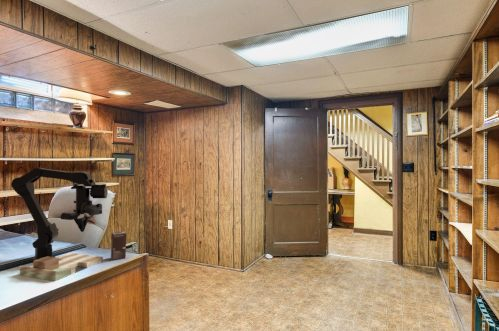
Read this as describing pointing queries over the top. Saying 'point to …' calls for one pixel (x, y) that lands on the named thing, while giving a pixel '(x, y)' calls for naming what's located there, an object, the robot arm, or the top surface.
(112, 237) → the box
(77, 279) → the top surface
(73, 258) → the trap board
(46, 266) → the block
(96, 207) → the robot arm
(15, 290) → the top surface
